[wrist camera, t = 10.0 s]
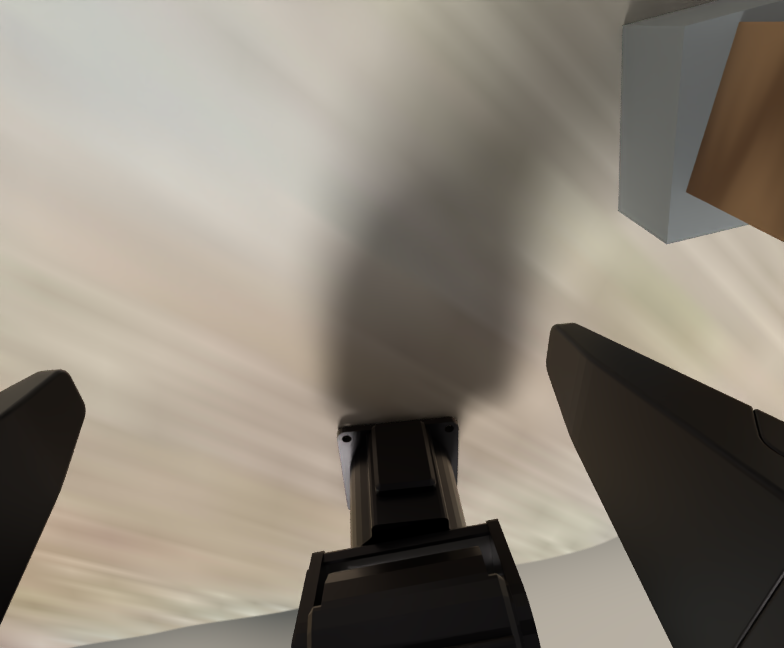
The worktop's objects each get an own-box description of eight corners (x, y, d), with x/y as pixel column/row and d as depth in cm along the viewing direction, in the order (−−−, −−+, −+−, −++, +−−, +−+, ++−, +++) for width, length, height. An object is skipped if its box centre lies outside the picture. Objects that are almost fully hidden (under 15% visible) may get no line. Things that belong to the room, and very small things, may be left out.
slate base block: (777, 168, 21) (861, 197, 17) (615, 209, 21) (667, 244, 18) (816, -28, 17) (932, -40, 14) (618, 25, 18) (684, 26, 14)
